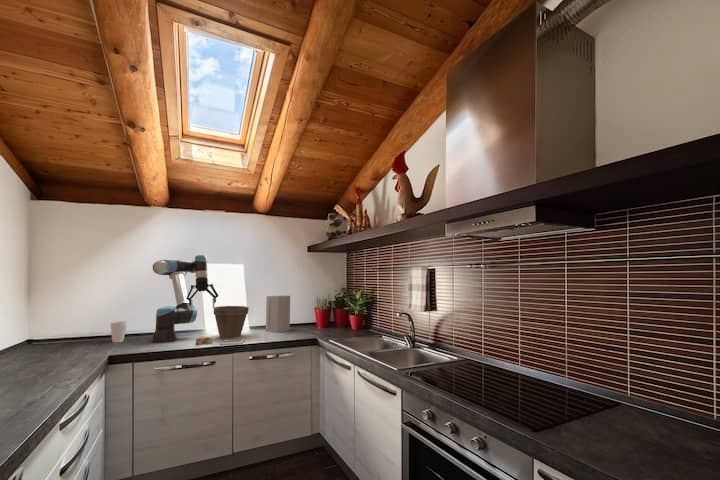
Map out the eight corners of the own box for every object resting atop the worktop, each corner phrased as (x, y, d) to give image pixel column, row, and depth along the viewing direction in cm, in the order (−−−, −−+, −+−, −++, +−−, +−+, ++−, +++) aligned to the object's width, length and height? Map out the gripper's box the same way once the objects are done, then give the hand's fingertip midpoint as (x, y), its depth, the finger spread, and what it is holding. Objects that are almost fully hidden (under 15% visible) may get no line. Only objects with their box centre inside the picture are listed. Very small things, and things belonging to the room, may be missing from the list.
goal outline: (219, 345, 241) (219, 343, 241) (224, 341, 254) (224, 340, 254) (241, 344, 243) (241, 343, 243) (244, 340, 256) (244, 339, 256)
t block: (195, 344, 242) (196, 338, 242) (199, 342, 250) (199, 336, 250) (210, 344, 243) (210, 338, 243) (213, 342, 251) (213, 336, 251)
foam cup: (127, 341, 253) (128, 322, 254) (111, 343, 247) (112, 323, 248) (123, 339, 260) (124, 321, 261) (108, 341, 253) (109, 322, 254)
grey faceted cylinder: (267, 333, 287) (267, 297, 290) (265, 330, 301) (266, 296, 304) (291, 331, 293) (292, 296, 296) (289, 329, 307) (289, 295, 310)
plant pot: (254, 335, 279) (255, 306, 280) (231, 340, 256) (231, 309, 258) (230, 332, 289) (230, 305, 291) (205, 337, 267) (206, 307, 269)
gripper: (181, 277, 241) (182, 310, 237) (221, 275, 254) (223, 306, 249) (181, 279, 248) (182, 311, 243) (220, 277, 260) (221, 307, 255)
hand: (202, 308), depth 246 cm, fingers open, 13 cm apart
